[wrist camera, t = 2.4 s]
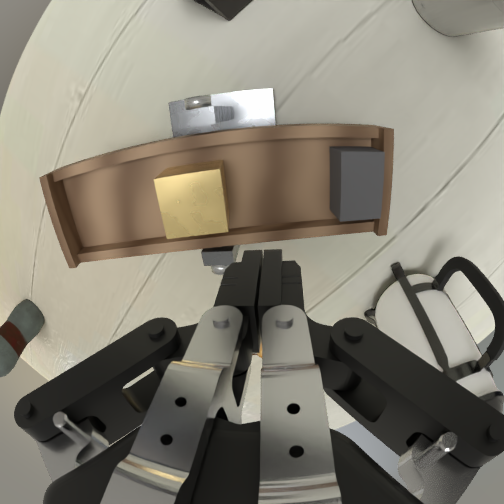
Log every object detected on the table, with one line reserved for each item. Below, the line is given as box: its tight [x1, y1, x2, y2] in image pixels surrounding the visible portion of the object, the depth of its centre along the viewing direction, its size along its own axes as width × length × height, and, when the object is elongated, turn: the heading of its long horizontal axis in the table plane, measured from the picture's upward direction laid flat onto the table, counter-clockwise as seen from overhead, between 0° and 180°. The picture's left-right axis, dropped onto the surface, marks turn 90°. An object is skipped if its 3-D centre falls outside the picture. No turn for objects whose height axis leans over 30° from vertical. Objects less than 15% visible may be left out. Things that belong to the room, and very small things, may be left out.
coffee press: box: [365, 257, 504, 413], centre depth 26 cm, size 17×16×30 cm
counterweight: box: [329, 146, 385, 222], centre depth 22 cm, size 4×6×3 cm, turn 5°
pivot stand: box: [169, 88, 276, 275], centre depth 27 cm, size 12×18×11 cm, turn 5°
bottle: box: [0, 299, 44, 377], centre depth 40 cm, size 9×9×30 cm
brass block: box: [154, 160, 230, 239], centre depth 22 cm, size 5×5×4 cm
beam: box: [40, 124, 394, 268], centre depth 23 cm, size 32×10×4 cm, turn 95°
